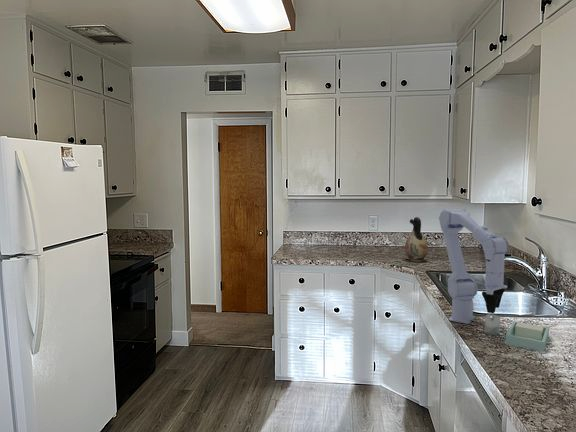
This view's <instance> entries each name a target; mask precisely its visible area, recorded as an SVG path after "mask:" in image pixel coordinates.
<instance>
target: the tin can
mask: <svg viewBox="0 0 576 432" xmlns="http://www.w3.org/2000/svg"><path fill="white" fill-rule="evenodd" d="M500 322H501V317H500V316H499V315H497V314H493V313H488V314H485V321H484V333H485V334H487V335H489V336H499V335H500V327H501V324H500Z"/></svg>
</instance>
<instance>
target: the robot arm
mask: <svg viewBox="0 0 576 432" xmlns="http://www.w3.org/2000/svg"><path fill="white" fill-rule="evenodd" d="M438 219H439V220H438V221H439V225H440V230H441V232H442V233H443V237H444V238H443V239H444V244H445V247H446V252H447V256H448V261H449V267H450V269H451V273H452V274H451V275H450V276H449V277H448V279H447V280H446V281H447V292H448V294H449V296H450V297H451V298H452V300H451V303H452V304H451V316H450V317H449V318H448V321H451V322H456V323H459V324H460V323H462V324H465V325H466V324H467V325H470V323H471V322H472V320H473V319H475V317H476V316H474V301H473V299H475V296H477V294H478V291H479V290H478V289H479V288H478V285H477V282H475V280H474V276H473V275H471V274H470V273H469V272H467V269H466V263H465V261H464V254H463V251H462V248H461V243H460V239H459V232H461V231H462V230H463V229H464V228H465V230H466V229H467V231H469V232H471V233H472V237H473V239H474V240H475V241H477V243H479V245H481V246H482V250H483V252H484V258H485V278H484V281H485V283H484V288H485V289H486V291H482V292H481V295H482V297H483V300H484V302H485V308H486V312H487V313H488V314H492V315H495V312H496V308H497V309H499V307H500V304H501V300H502V297H503V294H504V292H505V291H506V289H507V288H508V285H505V284H504V279H505V278H504V276H505V254H507V253H508V252H509V250H510V245H509V242H508V239H506V238H505V237H499V236H497V235H496V234H495V233H494V232H492V231H491V230H490V229H489V227H488V226H486V225H479V224H478V223H477V222H476V221H475V220H474V219H473V217H471V214H470V212H469V211H467V209H465V208H462V209H459V208H458V209H442V210H441V212H440V215H439V216H438Z"/></svg>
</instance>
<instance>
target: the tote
mask: <svg viewBox="0 0 576 432" xmlns="http://www.w3.org/2000/svg"><path fill="white" fill-rule="evenodd" d="M517 322H518V321H514V320H513V322H512V323H511V325H510V326H509V328H508V330H507V332H506V333H505V343H504V344H505V345H510V346H514V347H519V348H523V349H524V348H525V349H528V350H534V351H538V352H539V351H540V352H545V350H546V347H547V343H548V339H549V336H550V334H549V333H550V327H548V326H547V327H546V326H543V327H544V330H543V339H542V341H539V340H534V339H529V338H524V337H518V336H515V326H516V324H517Z"/></svg>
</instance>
